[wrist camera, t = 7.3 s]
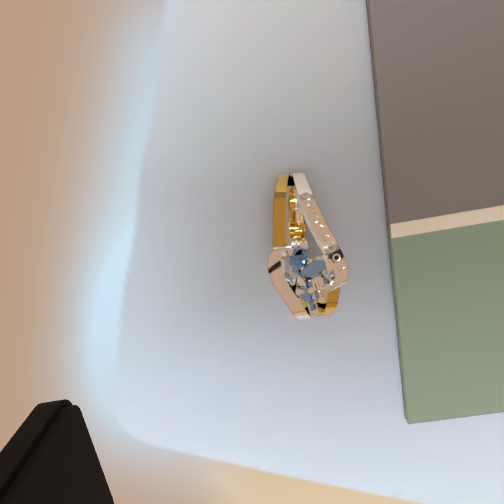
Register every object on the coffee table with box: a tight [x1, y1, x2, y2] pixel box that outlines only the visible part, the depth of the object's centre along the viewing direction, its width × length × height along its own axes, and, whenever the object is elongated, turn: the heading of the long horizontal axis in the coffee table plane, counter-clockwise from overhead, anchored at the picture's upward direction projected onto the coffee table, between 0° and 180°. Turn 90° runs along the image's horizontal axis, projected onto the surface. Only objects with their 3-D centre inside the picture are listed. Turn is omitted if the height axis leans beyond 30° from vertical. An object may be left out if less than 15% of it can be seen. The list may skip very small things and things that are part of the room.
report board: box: [366, 0, 504, 424], centre depth 23 cm, size 11×26×1 cm, turn 10°
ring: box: [268, 173, 348, 320], centre depth 20 cm, size 7×3×8 cm, turn 5°
